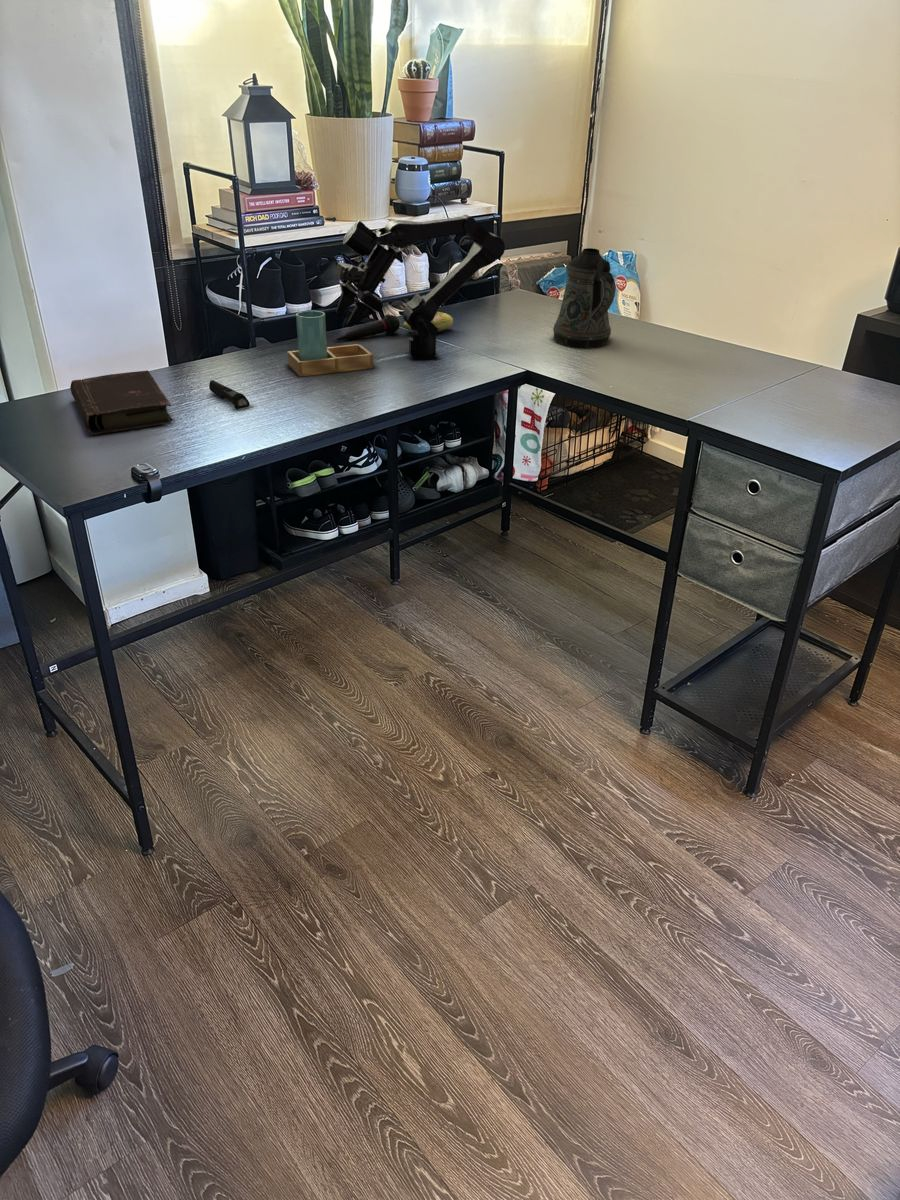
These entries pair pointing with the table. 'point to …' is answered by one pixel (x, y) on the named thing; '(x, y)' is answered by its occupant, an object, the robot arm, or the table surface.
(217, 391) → the electric trimmer
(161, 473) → the table surface
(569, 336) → the beer stein
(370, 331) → the microphone
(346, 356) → the divided wooden tray
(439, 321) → the plant cell model
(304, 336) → the tumbler
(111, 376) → the diary
